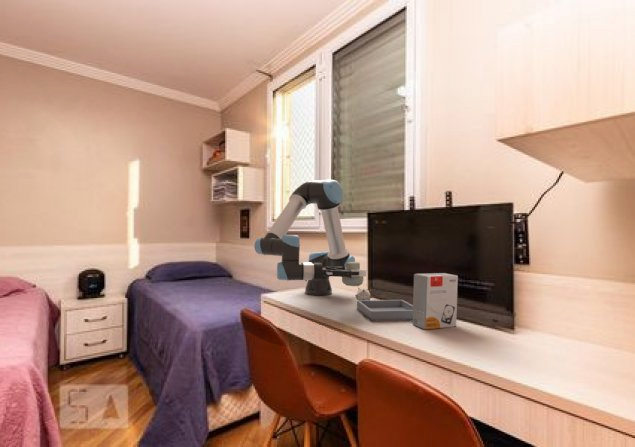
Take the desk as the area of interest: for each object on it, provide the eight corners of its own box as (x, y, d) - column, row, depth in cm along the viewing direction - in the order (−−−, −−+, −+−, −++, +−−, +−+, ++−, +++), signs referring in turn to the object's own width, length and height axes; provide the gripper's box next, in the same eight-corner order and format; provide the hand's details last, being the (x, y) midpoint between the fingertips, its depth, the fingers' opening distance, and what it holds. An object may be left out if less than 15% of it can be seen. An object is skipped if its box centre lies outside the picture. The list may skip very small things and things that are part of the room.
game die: (365, 313, 164) (365, 299, 158) (351, 304, 168) (351, 290, 162) (375, 302, 169) (376, 288, 163) (361, 293, 173) (362, 279, 167)
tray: (356, 309, 156) (356, 300, 156) (402, 308, 159) (402, 299, 159) (370, 321, 136) (371, 311, 136) (422, 320, 140) (422, 310, 140)
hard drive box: (424, 330, 125) (425, 276, 126) (411, 324, 132) (412, 273, 133) (457, 326, 131) (458, 275, 131) (443, 321, 138) (444, 272, 138)
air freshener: (345, 282, 156) (346, 261, 157) (363, 283, 154) (364, 261, 154) (340, 286, 146) (341, 263, 146) (360, 287, 144) (360, 264, 144)
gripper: (309, 276, 159) (355, 276, 162) (316, 284, 136) (369, 284, 139) (309, 260, 159) (356, 260, 162) (316, 265, 136) (370, 266, 140)
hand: (362, 271), depth 151 cm, fingers closed on air freshener, 10 cm apart
